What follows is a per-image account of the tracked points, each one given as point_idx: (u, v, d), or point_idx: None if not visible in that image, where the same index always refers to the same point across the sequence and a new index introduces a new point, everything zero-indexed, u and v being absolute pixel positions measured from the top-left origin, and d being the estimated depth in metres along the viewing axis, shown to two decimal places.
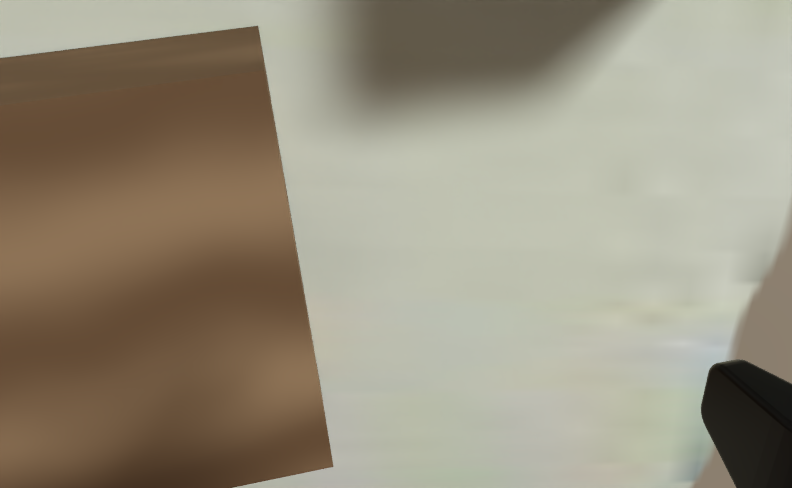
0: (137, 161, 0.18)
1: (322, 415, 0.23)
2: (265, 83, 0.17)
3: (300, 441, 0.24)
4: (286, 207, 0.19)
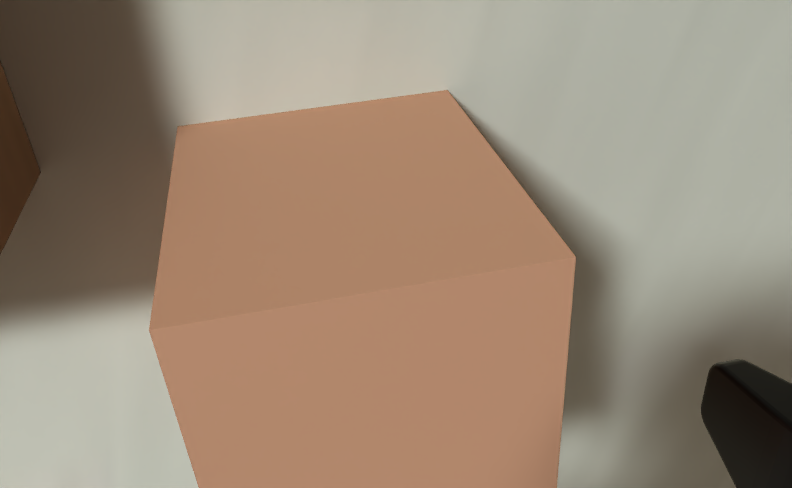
0: None
1: None
2: None
3: None
4: None
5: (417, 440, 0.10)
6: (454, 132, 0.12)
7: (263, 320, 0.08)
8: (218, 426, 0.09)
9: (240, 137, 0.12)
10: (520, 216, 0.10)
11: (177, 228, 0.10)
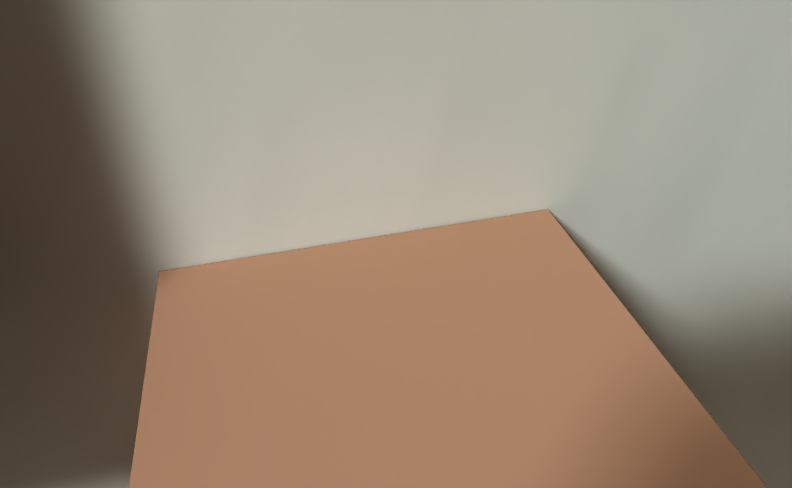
0: None
1: None
2: None
3: None
4: None
5: None
6: (581, 302, 0.08)
7: None
8: None
9: (252, 301, 0.08)
10: None
11: None
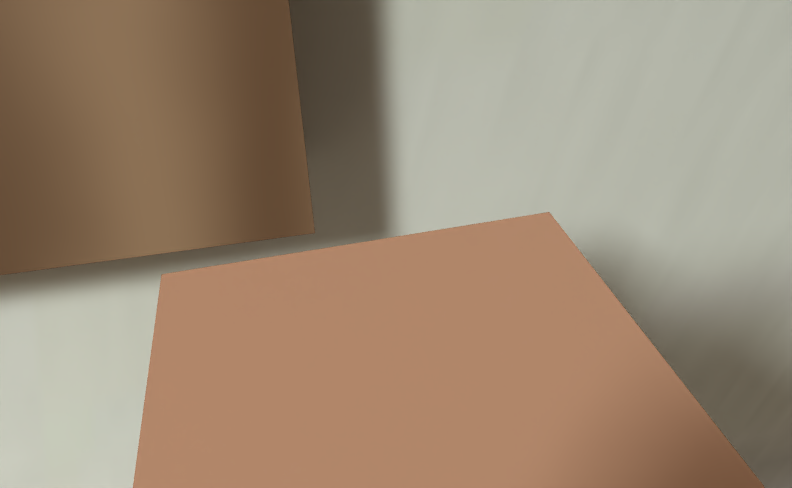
0: None
1: None
2: None
3: None
4: None
5: None
6: (582, 305, 0.08)
7: None
8: None
9: (254, 303, 0.08)
10: None
11: None
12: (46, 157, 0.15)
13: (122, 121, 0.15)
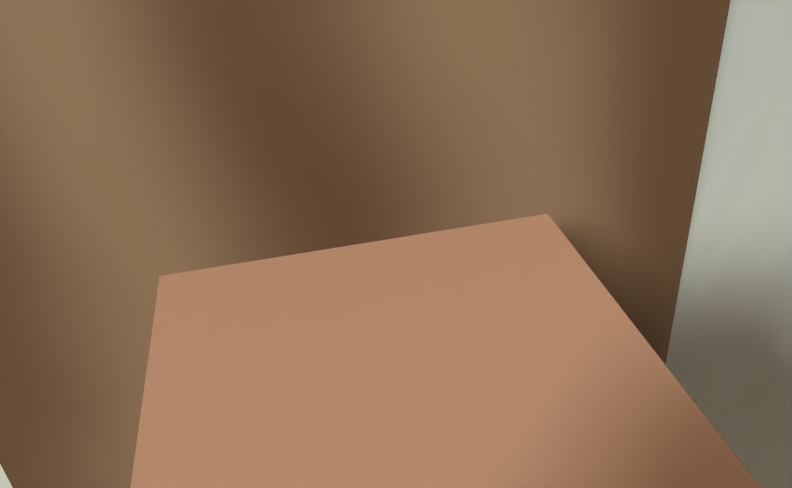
0: None
1: None
2: None
3: None
4: None
5: None
6: (581, 306, 0.08)
7: None
8: None
9: (252, 305, 0.08)
10: None
11: None
12: None
13: None
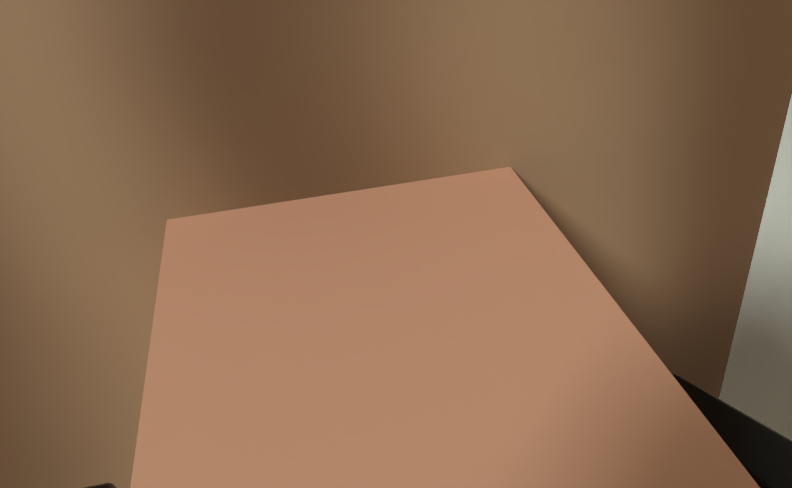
0: None
1: None
2: None
3: None
4: None
5: None
6: (532, 238, 0.09)
7: None
8: None
9: (248, 241, 0.09)
10: (656, 399, 0.07)
11: (161, 408, 0.07)
12: None
13: None
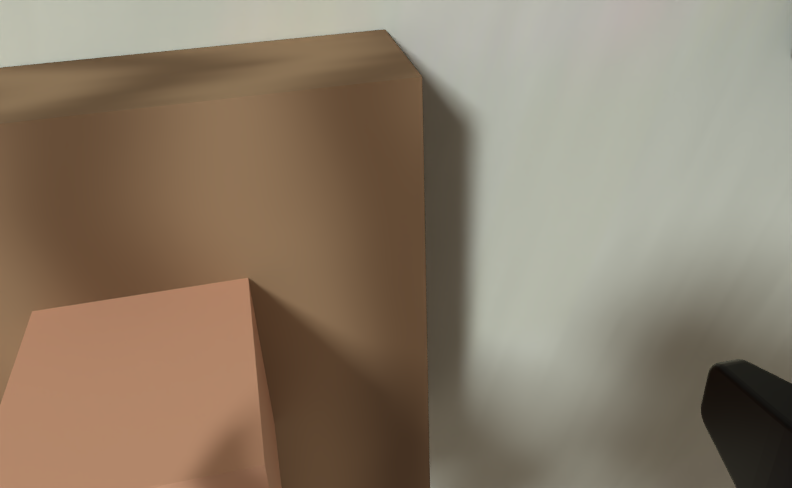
0: None
1: (311, 91, 0.16)
2: None
3: (357, 123, 0.16)
4: None
5: None
6: (234, 329, 0.16)
7: None
8: None
9: (75, 327, 0.16)
10: (244, 423, 0.14)
11: (3, 426, 0.14)
12: None
13: (309, 448, 0.21)
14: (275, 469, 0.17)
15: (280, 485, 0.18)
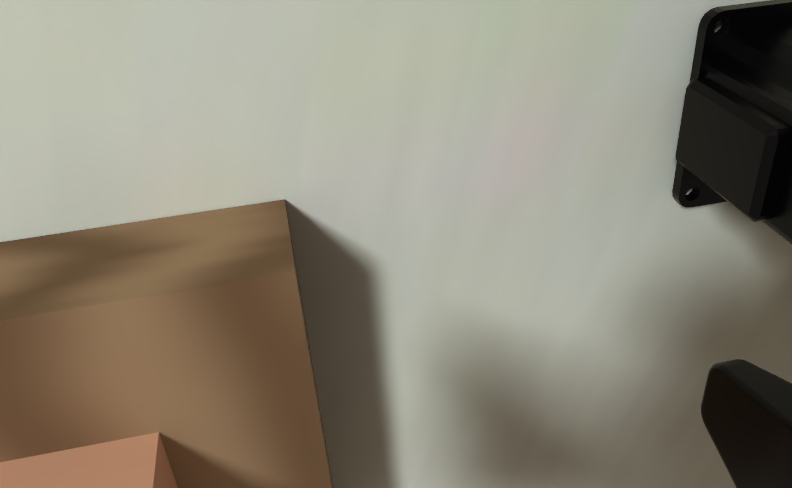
0: None
1: (197, 290, 0.18)
2: None
3: (242, 310, 0.19)
4: None
5: None
6: None
7: None
8: None
9: (4, 487, 0.19)
10: None
11: None
12: None
13: None
14: None
15: None
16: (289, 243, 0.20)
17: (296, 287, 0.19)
